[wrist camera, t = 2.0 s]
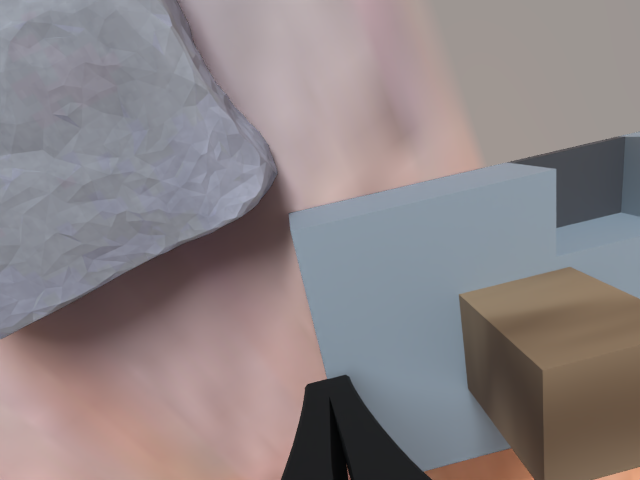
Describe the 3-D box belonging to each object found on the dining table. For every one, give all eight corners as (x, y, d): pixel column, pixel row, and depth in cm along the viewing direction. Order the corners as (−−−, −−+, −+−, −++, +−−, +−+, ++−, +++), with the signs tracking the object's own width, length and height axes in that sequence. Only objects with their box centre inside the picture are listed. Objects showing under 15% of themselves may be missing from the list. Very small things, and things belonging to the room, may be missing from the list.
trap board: (344, 437, 16) (366, 545, 12) (288, 213, 13) (293, 253, 9) (806, 317, 17) (978, 377, 13) (866, 78, 14) (1125, 54, 10)
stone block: (-144, 96, 12) (17, 340, 13) (-431, 27, 7) (-143, 416, 9) (159, -65, 12) (294, 194, 13) (65, -238, 7) (290, 188, 8)
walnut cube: (569, 362, 13) (684, 454, 9) (467, 388, 13) (544, 493, 9) (569, 266, 12) (703, 328, 8) (458, 294, 12) (542, 370, 8)
